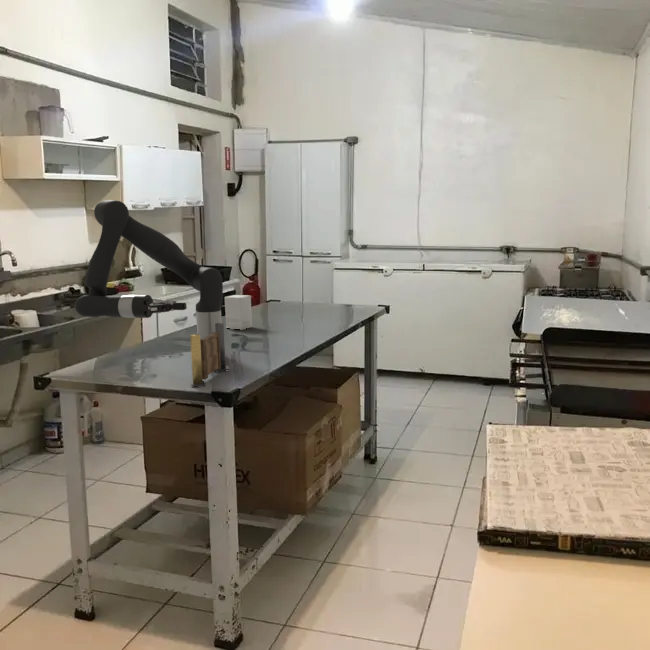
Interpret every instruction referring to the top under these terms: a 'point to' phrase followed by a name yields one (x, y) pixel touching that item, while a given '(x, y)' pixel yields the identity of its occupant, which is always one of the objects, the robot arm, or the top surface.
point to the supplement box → (238, 312)
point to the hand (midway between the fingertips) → (185, 306)
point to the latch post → (196, 360)
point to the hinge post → (221, 346)
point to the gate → (210, 354)
